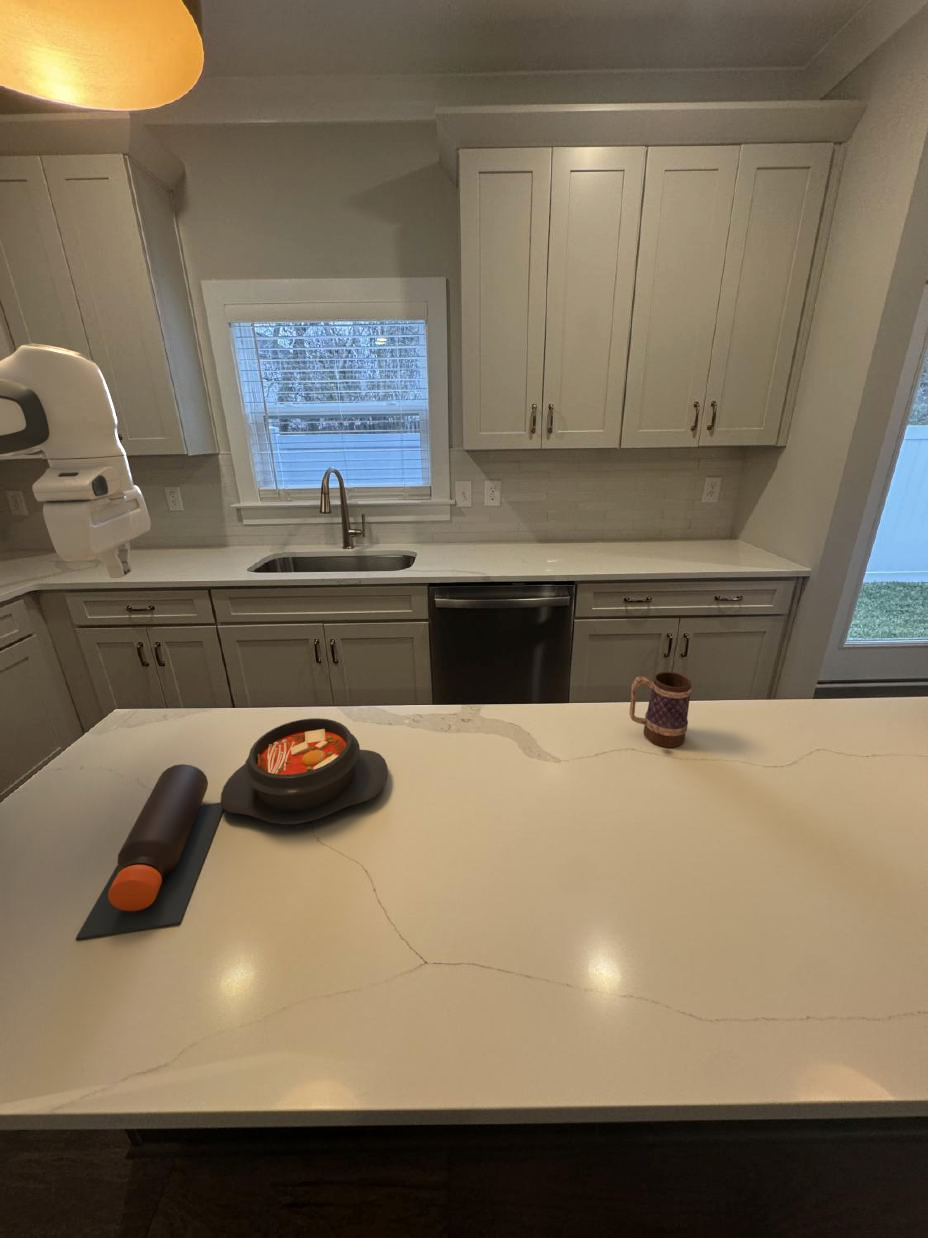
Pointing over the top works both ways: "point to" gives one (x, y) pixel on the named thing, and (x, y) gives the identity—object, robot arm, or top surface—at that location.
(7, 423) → the robot arm
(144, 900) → the vinegar
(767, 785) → the top surface
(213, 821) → the mat
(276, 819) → the casserole
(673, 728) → the mug
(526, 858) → the top surface
